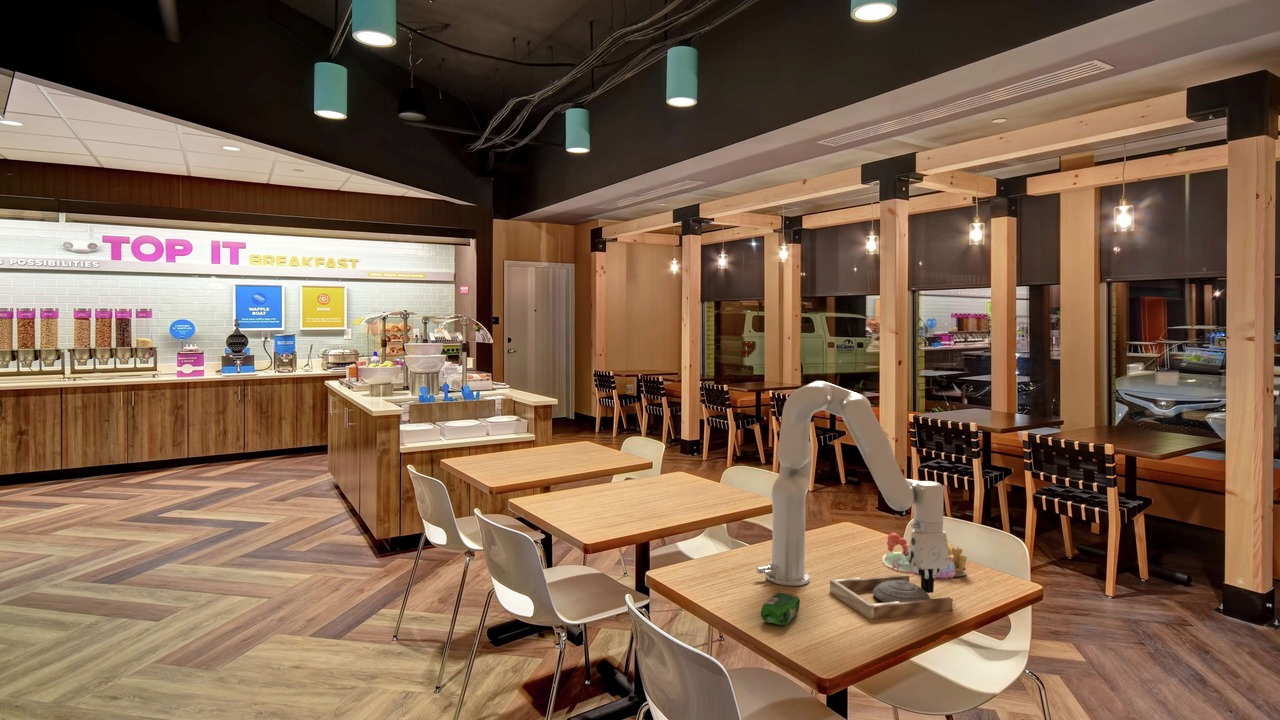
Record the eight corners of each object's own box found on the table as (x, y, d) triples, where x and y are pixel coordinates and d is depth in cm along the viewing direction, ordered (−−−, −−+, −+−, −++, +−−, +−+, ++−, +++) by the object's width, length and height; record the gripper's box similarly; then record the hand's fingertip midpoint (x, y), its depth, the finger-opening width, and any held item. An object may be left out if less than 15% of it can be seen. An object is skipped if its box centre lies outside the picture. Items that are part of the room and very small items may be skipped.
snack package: (756, 627, 175) (756, 606, 174) (777, 606, 188) (778, 587, 188) (783, 634, 171) (784, 613, 171) (803, 612, 184) (804, 592, 184)
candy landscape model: (951, 556, 232) (952, 529, 232) (979, 581, 208) (980, 551, 208) (874, 553, 234) (875, 526, 234) (893, 578, 211) (894, 548, 210)
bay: (869, 619, 180) (869, 605, 179) (829, 591, 198) (830, 579, 198) (952, 609, 186) (952, 597, 186) (906, 584, 205) (906, 572, 205)
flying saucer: (865, 589, 201) (866, 571, 201) (918, 591, 200) (919, 572, 200) (881, 610, 186) (882, 590, 186) (938, 612, 185) (939, 591, 185)
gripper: (914, 531, 189) (912, 598, 190) (960, 527, 193) (959, 593, 194) (896, 524, 196) (895, 589, 197) (941, 520, 200) (940, 584, 201)
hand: (927, 591), depth 195 cm, fingers closed
